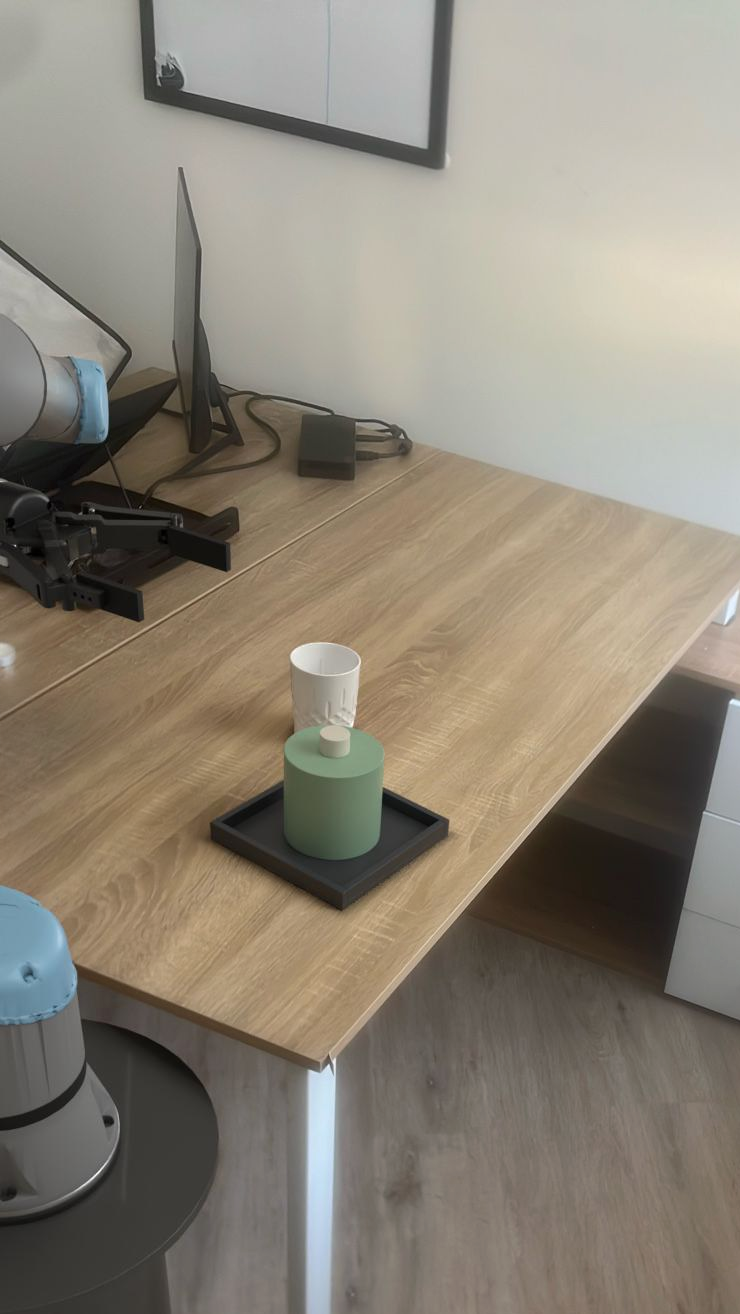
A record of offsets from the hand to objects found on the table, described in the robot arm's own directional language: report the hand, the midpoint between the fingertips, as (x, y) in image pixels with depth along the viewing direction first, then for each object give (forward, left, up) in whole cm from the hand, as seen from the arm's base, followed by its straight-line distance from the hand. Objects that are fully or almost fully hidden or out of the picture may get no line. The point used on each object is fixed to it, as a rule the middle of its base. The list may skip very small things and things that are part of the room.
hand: (186, 581), depth 118 cm
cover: (+6, -13, -25) cm, 29 cm away
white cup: (+21, +1, -26) cm, 34 cm away
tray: (+6, -13, -26) cm, 30 cm away
